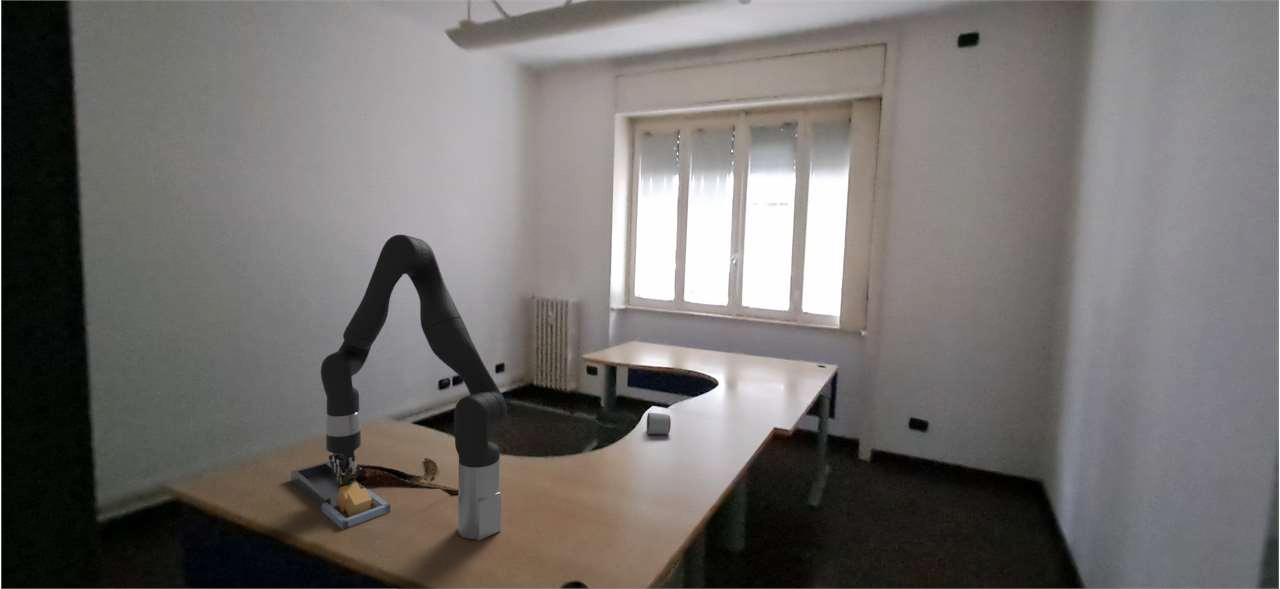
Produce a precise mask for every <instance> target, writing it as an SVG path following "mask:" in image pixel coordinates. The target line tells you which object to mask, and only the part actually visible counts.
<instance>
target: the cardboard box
mask: <svg viewBox="0 0 1280 589" xmlns="http://www.w3.org/2000/svg"><path fill="white" fill-rule="evenodd" d="M371 502H372V498H371V496H370V495H369V493H368V491H367V488H366V487H365V488H363V489H360V490H356V491H353V492H350V493H348V496H347V500H346V505H345V510H346V511H345V512H346V514H347V515H348V517H351V516H354V515H357V514H359V513H362V512H365V511H368V510H371V505H372V503H371Z"/></svg>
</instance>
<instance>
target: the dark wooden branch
mask: <svg viewBox="0 0 1280 589" xmlns="http://www.w3.org/2000/svg"><path fill="white" fill-rule="evenodd" d="M424 462H425V466H426V467H425V469H426V470H427V471H426V473H425V474H424V475H423V474H422V475H417V474H410V473H407V472H404V471H401V470H398V469H394V468H389V467H385V466H382V465H370V464H361V463H360V464H359V463H358V464H357V465H356V466H359V467H360V470H359V473H358V475H357V477H356V479H355V481H357V482H358V483H360V484H361V485H363V486H364V487H365V488H366V487H380V486H381V487H386V486H387V487H388V486H391V487H392V486H395V487H402V488H403V487H407V488H415V489H416V488H418V489H429V490H430V489H431V490H438V489H439V490H441V491H442V492H444V493H446V494H448V495H449V496H458V493H459V488H453V487H449V486H445V485H440V484H436V483H431V482H433V481H434V480H435V479H436V478H437V477H438V474H439V473H440V470H439V467H438V465H437V462H435V461H434V460H432V459H430V458H428V457H425V458H424ZM422 480H424V481H422ZM425 481H426V482H425Z"/></svg>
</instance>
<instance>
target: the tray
mask: <svg viewBox="0 0 1280 589" xmlns="http://www.w3.org/2000/svg"><path fill="white" fill-rule="evenodd" d="M366 490H367V491H368V493H369V495H370V496H371V498H372V502H371V505H373V506H374V508H372V509H371V508H370V510H368V511H365V512H362V513H359V514H357V515H354V516H351V517H350V516H348V517H345V516H344V515H343V514H342V513H340V512H339V511H338V510H337V509H335V507H332V506H331V505H329V504H328V503H324V504H322V507H321V512H322V513H323V514H324V515H325V516H326V517H327V518H329V519H330V520H331V521H333V523H335V524H336V525H337V526H338V527H339V528H340V529H341V530H345V529H348V528H351V527H353V526H356V525H359V524H361V523H364V522H366V521H369V520H372V519H375V518H377V517H380V516H382V515H386V514H389V513H391V504H390V503H388V502H387V501H386V500H384V499H382V498H381V497H380V496H378V495H377V494H376V493H374V492H373V491H371V490H370V489H368V488H366Z"/></svg>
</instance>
